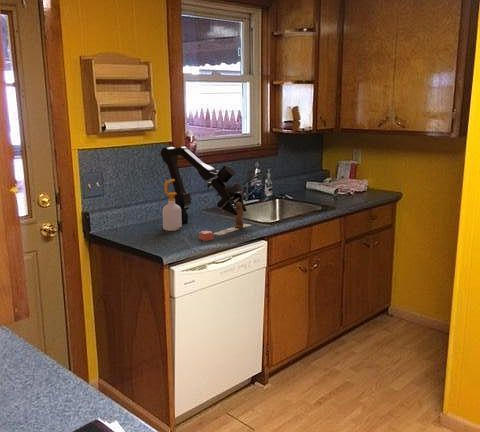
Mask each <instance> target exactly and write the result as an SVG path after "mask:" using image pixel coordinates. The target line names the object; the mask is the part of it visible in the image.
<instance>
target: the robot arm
mask: <svg viewBox="0 0 480 432" xmlns="http://www.w3.org/2000/svg"><path fill="white" fill-rule="evenodd" d="M179 156H180V157H182V158H183V159H184V160H185V161H186V162H187V163H189V164H190V165H191V166H192V167H193V168H194V169H196V170H197V173H198V175H199V176H200V177H201V178H202V180H204V181H209V182H207V186H206V187H207V189H210V188H212V189H213V190H214V191H215V192H216V196H217V197H220V200H219V201H218V202H217V203H216V207H217V208H218V209H219V210H222V211H223V210H224V211H225V212H228V213H230V214H232V215H236V216H237V215H238V213H237V212H236V210H235V207H236V203H237V202H240V203H242V207H241V208H243V212H244V213H245V212H247V209H246V206H245V204H244V197H245V196H244V195H245V194H244V193H243V192H242V190H243V189H242V187H243V186H242V184H241V183H240V182H236V183H234V185H233V186H229V185H228V186H227V183H228V182H230V181H231V180H232V179H233V177H234V176H235V175H236V172H235V170H234V169H233V168H231V167H230V166H228V165H227V164H225V165H223V166H222V168H221V169H220V170H216V168H214V167H213V166H212V165H209V164H206V163H205V162H203V161H202V160H201V159H200V158H198V157H197V156H196V155H195V154H194V153H193V152H192V151H191V150H189V148H188V147H186V146H180V147H174V146H169V147H163V148H162V149H161V150H160V157H161V158H162V161H163V162H164V164H165V165H166V166H167V169H168V172H169V175H170V180H171V179H175V181H173V182H171V183H172V186H173V189H174V192H175V193H177V194H176V195H174V197H173V199H175V204H177V205H178V206H180V208H181V220H182V224H188V223H189V214H188V212H187V211H188V210H189V208H190V206H191V204H192V200H193V199H192V196H191V193H190V192H187V191H186V190H185V187H184V184H183V180H182V177H181V173H180V169H179V167H178V160H179V159H178V158H179ZM234 206H235V207H234Z"/></svg>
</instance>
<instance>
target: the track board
mask: <svg viewBox="0 0 480 432" xmlns="http://www.w3.org/2000/svg"><path fill="white" fill-rule="evenodd" d="M246 227H251V224H247V223H243V228H235V227H234V226H233V227H230V228H226V229H223V230H219V231H216V232H213V235H217V236H222V235H225V234H228V233H231V232H234V231H239V230H241V229H244V228H246Z"/></svg>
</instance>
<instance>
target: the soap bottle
mask: <svg viewBox="0 0 480 432" xmlns="http://www.w3.org/2000/svg"><path fill="white" fill-rule="evenodd" d="M173 181H175V179H171V178H170V179H169V180H166V181H164V194H166V195H167V196H168V197H169V198H168V199H167V202H168V203H167V204H166V205H164V206H163V208H162V228H163V230H165V231H169V232H174V231H179V230H181V228H182V226H183V225H182V220H181V208H180V206H178V205H177V204H175V199H174V197H175V195H176V194H177V193H175V191H174V192H168V184H170V183H172V182H173Z"/></svg>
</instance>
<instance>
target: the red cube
mask: <svg viewBox="0 0 480 432" xmlns="http://www.w3.org/2000/svg"><path fill="white" fill-rule="evenodd" d="M213 233H214V232H213V231H210V230H205V231H204V230H202V231H199V233H198V234H199V240H202V241H203V242H204V241H212V240H214V234H213Z"/></svg>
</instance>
